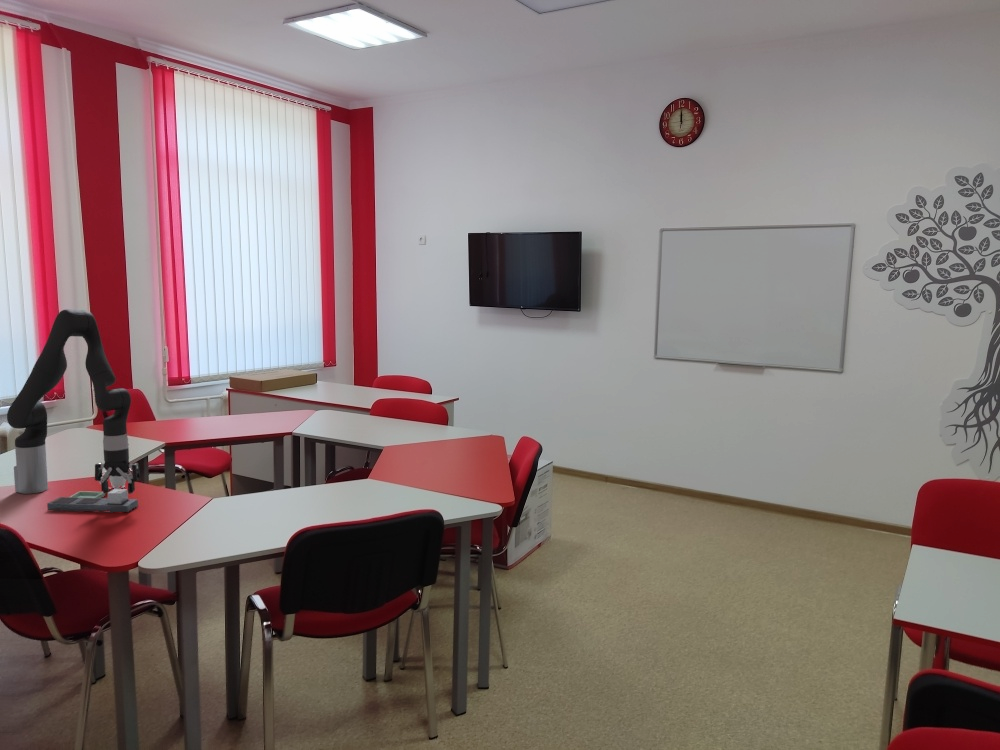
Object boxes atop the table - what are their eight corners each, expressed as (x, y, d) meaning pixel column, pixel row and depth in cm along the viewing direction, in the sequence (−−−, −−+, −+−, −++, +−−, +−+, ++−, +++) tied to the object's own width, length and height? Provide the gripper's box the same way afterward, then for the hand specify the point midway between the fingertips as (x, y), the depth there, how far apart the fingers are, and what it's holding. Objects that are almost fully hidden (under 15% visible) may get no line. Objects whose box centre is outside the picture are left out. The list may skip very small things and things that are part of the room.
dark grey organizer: (47, 510, 236) (47, 503, 236) (60, 503, 243) (59, 496, 243) (127, 512, 237) (127, 505, 236) (137, 506, 244) (137, 499, 243)
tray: (65, 503, 244) (65, 499, 243) (80, 495, 253) (80, 491, 252) (91, 504, 244) (91, 499, 244) (105, 496, 253) (105, 491, 253)
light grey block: (108, 511, 238) (107, 493, 237) (115, 506, 242) (114, 488, 241) (121, 511, 238) (120, 493, 237) (128, 507, 242) (127, 489, 242)
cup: (131, 488, 262) (130, 467, 261) (101, 493, 256) (100, 472, 255) (126, 483, 268) (125, 463, 266) (97, 488, 261) (96, 467, 260)
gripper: (88, 449, 233) (91, 495, 236) (131, 450, 234) (133, 496, 236) (101, 443, 241) (103, 489, 243) (142, 444, 241) (144, 489, 243)
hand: (118, 492), depth 239 cm, fingers open, 8 cm apart
